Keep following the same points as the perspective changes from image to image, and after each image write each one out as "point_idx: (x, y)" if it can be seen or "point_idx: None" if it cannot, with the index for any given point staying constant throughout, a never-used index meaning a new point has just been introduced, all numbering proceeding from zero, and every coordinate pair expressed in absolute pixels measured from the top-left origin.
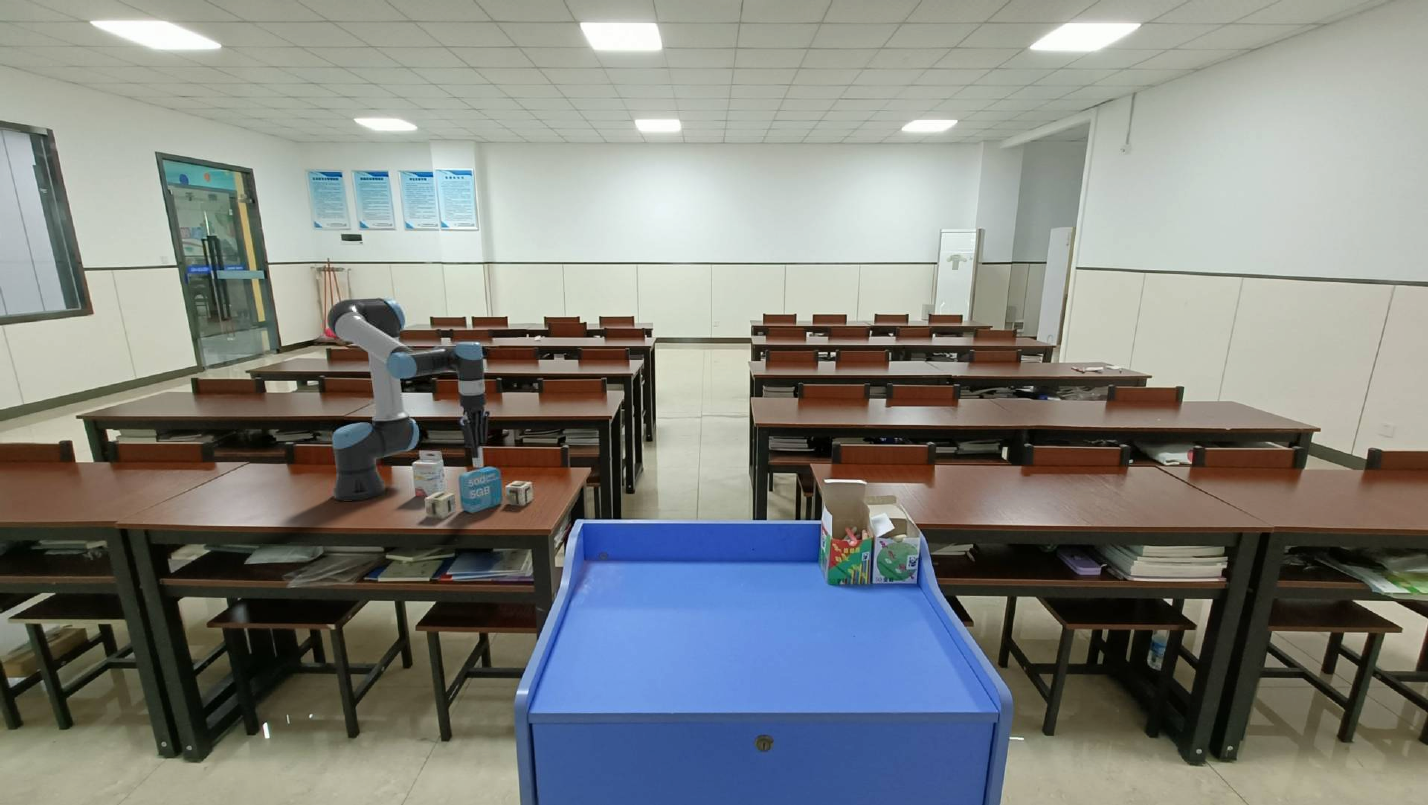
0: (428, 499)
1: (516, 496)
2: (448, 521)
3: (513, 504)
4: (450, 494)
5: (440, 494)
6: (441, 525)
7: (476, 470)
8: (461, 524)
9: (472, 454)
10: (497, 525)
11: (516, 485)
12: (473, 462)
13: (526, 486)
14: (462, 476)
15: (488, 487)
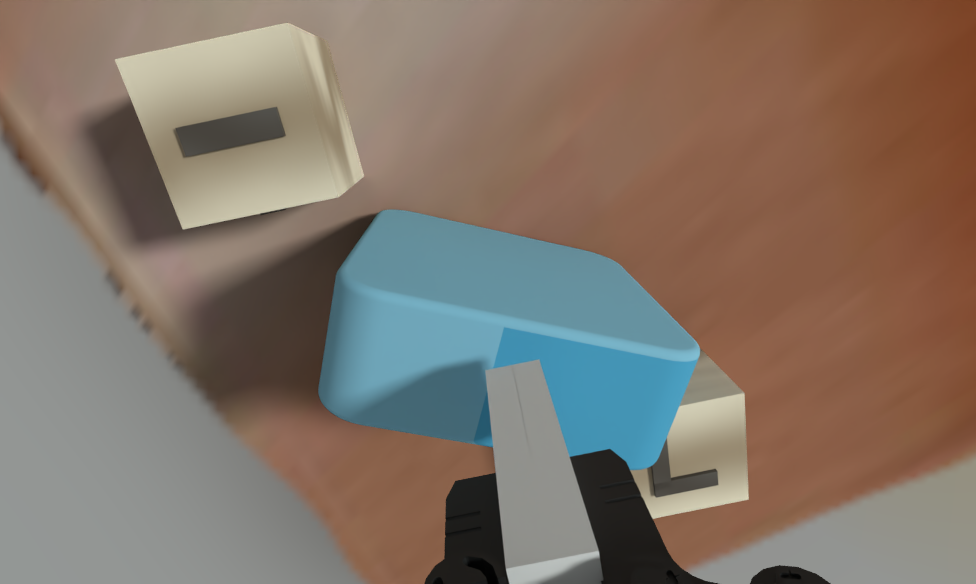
0: (134, 101)
1: None
2: (231, 266)
3: None
4: (303, 190)
5: (245, 123)
6: (170, 278)
7: (518, 349)
8: (247, 363)
9: (448, 534)
10: (339, 516)
11: (652, 473)
12: (489, 408)
13: (679, 507)
14: (340, 335)
15: None
